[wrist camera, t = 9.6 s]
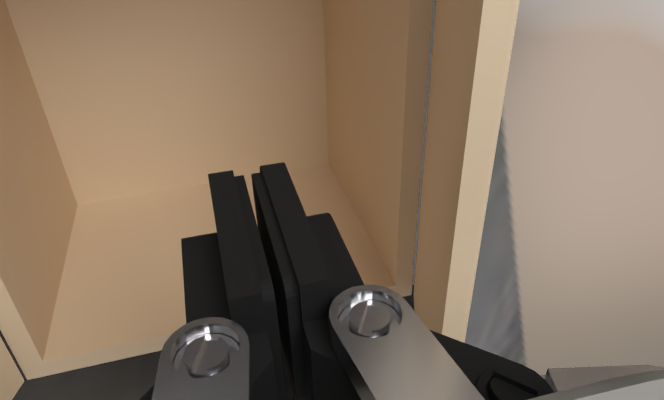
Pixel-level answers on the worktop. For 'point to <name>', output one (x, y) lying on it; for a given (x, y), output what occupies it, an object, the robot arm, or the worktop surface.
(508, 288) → the worktop surface
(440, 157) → the right flap
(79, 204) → the carton
